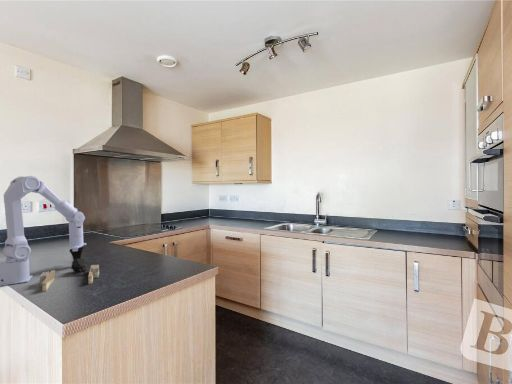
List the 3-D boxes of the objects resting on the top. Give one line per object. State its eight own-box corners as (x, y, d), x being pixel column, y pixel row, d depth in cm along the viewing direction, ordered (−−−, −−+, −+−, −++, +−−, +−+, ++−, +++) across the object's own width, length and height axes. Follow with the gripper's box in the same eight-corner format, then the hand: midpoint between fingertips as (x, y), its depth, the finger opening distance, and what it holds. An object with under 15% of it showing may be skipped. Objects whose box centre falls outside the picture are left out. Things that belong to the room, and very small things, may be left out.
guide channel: (35, 292, 100) (35, 282, 99) (46, 278, 115) (45, 269, 115) (97, 282, 109) (97, 272, 109) (99, 270, 125) (99, 261, 125)
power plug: (79, 276, 115) (71, 256, 121) (76, 288, 118) (68, 268, 124) (93, 272, 119) (85, 253, 126) (90, 284, 122) (82, 265, 129)
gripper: (84, 237, 128) (85, 265, 128) (87, 232, 141) (88, 258, 141) (66, 238, 125) (67, 267, 125) (70, 233, 137) (71, 260, 138)
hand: (77, 263), depth 133 cm, fingers closed
